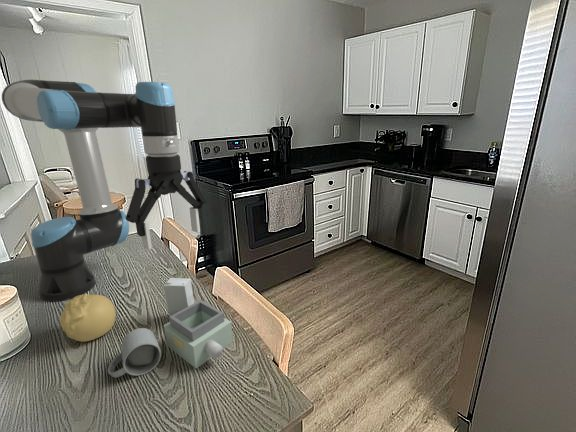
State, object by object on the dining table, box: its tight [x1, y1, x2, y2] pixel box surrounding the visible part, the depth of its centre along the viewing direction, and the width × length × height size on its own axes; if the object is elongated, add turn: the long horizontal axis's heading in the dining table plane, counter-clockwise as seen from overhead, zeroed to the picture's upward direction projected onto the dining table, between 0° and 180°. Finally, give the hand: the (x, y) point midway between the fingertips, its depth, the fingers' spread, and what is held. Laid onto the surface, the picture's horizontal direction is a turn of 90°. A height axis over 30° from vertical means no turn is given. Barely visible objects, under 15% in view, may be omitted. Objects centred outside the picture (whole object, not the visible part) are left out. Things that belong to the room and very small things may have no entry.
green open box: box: [163, 299, 234, 369], centre depth 75 cm, size 15×11×8 cm
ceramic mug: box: [107, 327, 162, 379], centre depth 69 cm, size 11×8×8 cm
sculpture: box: [59, 292, 117, 343], centre depth 79 cm, size 12×12×11 cm
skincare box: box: [163, 277, 195, 318], centre depth 84 cm, size 6×4×12 cm
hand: (173, 239), depth 78 cm, fingers open, 13 cm apart
